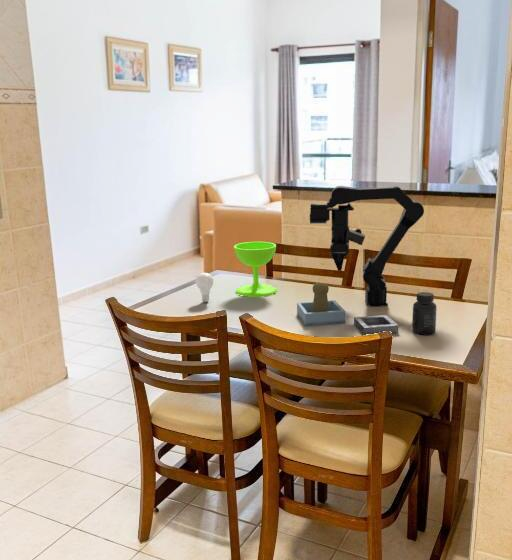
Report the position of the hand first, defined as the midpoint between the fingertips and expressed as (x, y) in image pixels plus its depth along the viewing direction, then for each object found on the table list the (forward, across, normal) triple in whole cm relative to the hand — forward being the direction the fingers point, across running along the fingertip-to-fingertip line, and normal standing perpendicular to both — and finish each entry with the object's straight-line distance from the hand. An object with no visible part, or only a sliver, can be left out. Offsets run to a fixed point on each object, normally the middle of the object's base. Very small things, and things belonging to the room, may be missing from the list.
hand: (339, 267), depth 214 cm
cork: (+12, -18, +6) cm, 23 cm away
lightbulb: (+13, -1, +48) cm, 50 cm away
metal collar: (+13, -27, -11) cm, 32 cm away
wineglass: (+13, +14, +32) cm, 37 cm away
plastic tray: (+13, -18, +6) cm, 23 cm away
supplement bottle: (+13, -30, -26) cm, 41 cm away
